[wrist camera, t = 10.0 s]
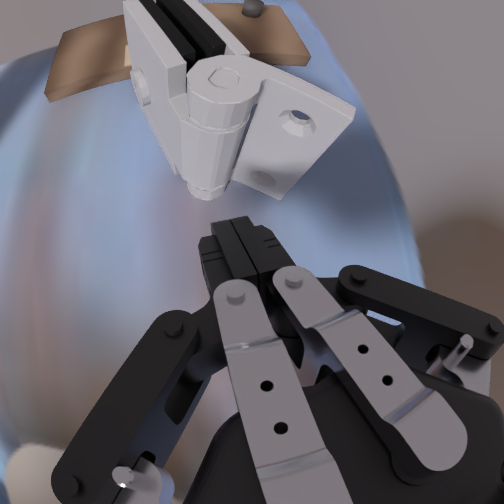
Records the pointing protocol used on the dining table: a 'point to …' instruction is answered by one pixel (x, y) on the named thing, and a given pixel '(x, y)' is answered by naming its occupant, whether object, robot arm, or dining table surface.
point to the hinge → (223, 102)
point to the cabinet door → (118, 57)
